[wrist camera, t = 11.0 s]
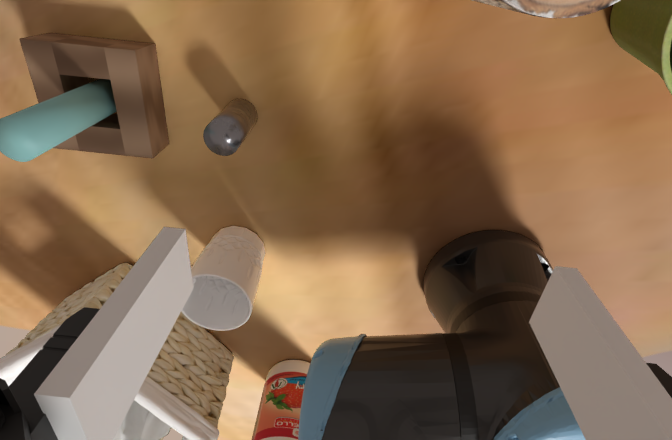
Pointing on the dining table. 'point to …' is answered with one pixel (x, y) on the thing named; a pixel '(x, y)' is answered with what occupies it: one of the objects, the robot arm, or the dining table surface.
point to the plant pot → (645, 33)
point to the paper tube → (552, 7)
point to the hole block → (127, 84)
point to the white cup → (226, 280)
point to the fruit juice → (281, 401)
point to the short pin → (230, 127)
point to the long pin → (55, 120)
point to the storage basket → (164, 376)
